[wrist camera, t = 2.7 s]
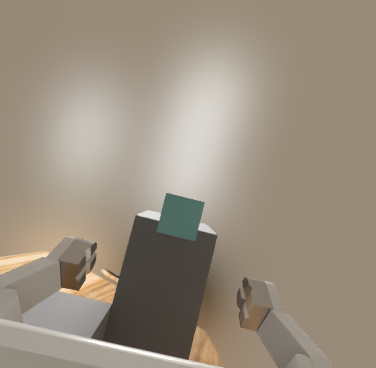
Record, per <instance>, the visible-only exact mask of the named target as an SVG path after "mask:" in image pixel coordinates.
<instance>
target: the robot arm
mask: <svg viewBox="0 0 376 368" xmlns="http://www.w3.org/2000/svg"><path fill="white" fill-rule="evenodd" d="M96 248H97V244H96V243H95V242H92V241H88V240H84V239H79V238H75V237H71V236H67V237H65V238H64V239H63V240H62V241H61V242H60V243H59V244H58V245H57V246H56V247H55V248H54V250H53V251H52V252H51V253H50V254H49V255H48V256H47V257H46V258H45V257H42V258H40V259H37V260H35V261H32V262H30V263H28V264H25V265H23V266H20V267H18V268H16V269H13V270H11V271H9V272H6V273H4V274H1V275H0V368H222V367H218V366H213V365H209V364H204V363H200V362H195V361H191V360H186V359H182V358H177V357H173V356H168V355H164V354H159V353H154V352H150V351H145V350H141V349H136V348H132V347H127V346H123V345H118V344H114V343H109V342H105V341H100V340H96V339H91V338H86V337H82V336H77V335H73V334H68V333H64V332H59V331H55V330H50V329H46V328H41V327H37V326H32V325H28V324H24V323H23V318H22V314H24V313H25V312H27V311H28V310H30V309H31V308H33V307H34V306H36V305H37V304H39V303H40V302H42V301H43V300H45V299H46V298H48V297H49V296H51V295H52V294H54V293H55V292H57V291H58V290H60V289H61V288H66V289H72V290H77V291H79V289H80V288H81V286H82V284H83V283H84V281H85V280H86V274H88V273H90V272H91V270H92V268H93V266H94V264H95V261H96V253H95V252H94V251H95V250H96ZM237 306H238V307H239V309H240V310H241V311H240V313H239V320H240V327H241V328H245V329H249V330H253V331H257V334H258V336H259V337H260V339H261V341H262V342H263V344H264V346H265V347H266V349H267V351H268V352H269V354H270V356H271V357H272V359H273V360H274V362H275V364H276V365H277V367H278V368H333V367H332V365H331V363H330V361H329V359H328V358H327V357H326V356H325V355H324V353H323V352H322V351H321V350H320V349H319V348H318V347H317V346H316V345H315V344H314V342H313V341H312V340H311V339H310V338H309V337H308V336H307V335H306V334H305V333H304V331H303V330H302V329H301V328H300V327H299V326H298V325H297V323H296V322H295V321H294V320H293V319H292V318H291V317H290V316H289V315H288V313H286V312H284V310H283V307H282V304H281V301H280V299H279V296H278V293H277V290H276V287H275V285H274V284H273V283H271V282H266V281H262V280H257V279H253V278H248V277H245V278H244V280H243V286H241V287H240V288H239V290H238V293H237Z"/></svg>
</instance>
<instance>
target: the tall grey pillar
mask: <svg viewBox="0 0 376 368" xmlns="http://www.w3.org/2000/svg"><path fill="white" fill-rule="evenodd" d="M160 216H161V213H158V212H153V211H150V210H147V211H145V212H143V213H140V214H137V215H136V217H135V220H134V224H133V228H132V231H131V235H130V239H129V243H128V247H127V250H126V254H125V258H124V262H123V265H122V269H121V273H120V277H119V280H118V284H117V288H116V292H115V296H114V299H113V303H112V304H110V303H106V302H102V301H97V300H93V299H89V298H85V297H80V296H76V295H72V294H67V293H63V292H59V291H57V292H55V293H54V294H52V295H51V296H49V297H48V298H46V299H45V300H43V301H42V302H40V303H39V304H37V305H36V306H34V307H33V308H31V309H30V310H28V311H27V312H25V313H24V314H22V318H23V323H24V324H28V325H32V326H37V327H41V328H46V329H50V330H55V331H59V332H64V333H68V334H73V335H77V336H82V337H86V338H91V339H96V340H100V341H105V342H109V343H114V344H118V345H123V346H127V347H132V348H136V349H141V350H145V351H150V352H154V353H159V354H164V355H168V356H173V357H177V358H182V359H186V360H188V359H189V355H190V351H191V346H192V342H193V338H194V334H195V329H196V325H197V321H198V316H199V312H200V308H201V304H202V299H203V295H204V291H205V286H206V282H207V277H208V273H209V269H210V265H211V261H212V256H213V252H214V248H215V243H216V239H217V234H216V233H215V232H214V231H213V230H212V229H211V228H210V227H209V226H208V225H207V224H202V223H200V224H199V228H198V232H197V236H196V240H195V241H192V240H188V239H184V238H179V237H175V236H171V235H167V234H163V233H159V232H156V231H157V228H158V224H159V220H160Z"/></svg>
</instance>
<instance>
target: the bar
mask: <svg viewBox="0 0 376 368" xmlns="http://www.w3.org/2000/svg"><path fill="white" fill-rule="evenodd" d="M203 207H204V202H201V201H197V200H193V199H189V198H185V197H181V196H177V195H173V194H168V193H166V196H165V200H164V204H163V208H162V212H161V216H160V220H159V224H158V228H157V231H156V232H159V233H163V234H167V235H171V236H175V237H179V238H184V239H188V240H192V241H195V240H196V236H197V232H198V228H199V224H200V220H201V215H202V211H203Z"/></svg>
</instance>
